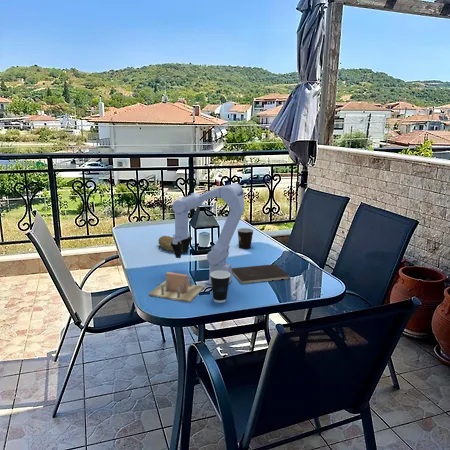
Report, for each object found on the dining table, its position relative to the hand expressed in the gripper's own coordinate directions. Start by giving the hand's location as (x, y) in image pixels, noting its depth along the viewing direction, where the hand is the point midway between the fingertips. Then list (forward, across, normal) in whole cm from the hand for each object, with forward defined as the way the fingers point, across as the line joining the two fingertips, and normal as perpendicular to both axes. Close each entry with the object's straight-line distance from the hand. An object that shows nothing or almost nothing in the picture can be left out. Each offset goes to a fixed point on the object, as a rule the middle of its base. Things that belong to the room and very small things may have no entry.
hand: (181, 255), depth 185 cm
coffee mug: (+10, -52, +15) cm, 55 cm away
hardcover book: (+10, -13, +33) cm, 37 cm away
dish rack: (+9, +18, +6) cm, 21 cm away
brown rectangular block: (+9, +18, +6) cm, 21 cm away
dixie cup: (+10, +19, +25) cm, 33 cm away
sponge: (+10, -32, -19) cm, 39 cm away
